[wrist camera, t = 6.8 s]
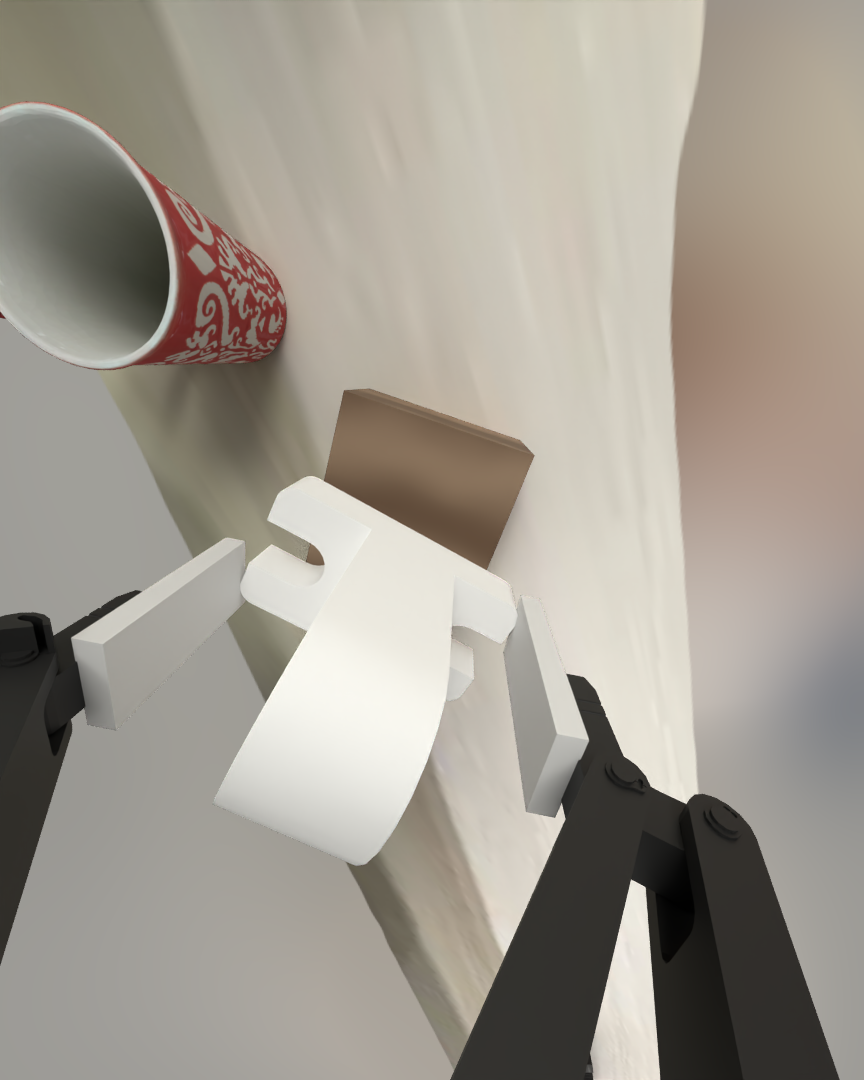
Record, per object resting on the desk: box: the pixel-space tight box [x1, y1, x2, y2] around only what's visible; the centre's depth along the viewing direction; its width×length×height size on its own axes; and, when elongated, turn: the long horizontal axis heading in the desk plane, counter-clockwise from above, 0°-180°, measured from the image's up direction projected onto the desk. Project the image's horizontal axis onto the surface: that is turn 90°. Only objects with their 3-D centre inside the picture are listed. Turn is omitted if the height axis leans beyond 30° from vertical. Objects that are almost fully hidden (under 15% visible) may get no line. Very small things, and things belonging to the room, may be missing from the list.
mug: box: [0, 101, 286, 370], centre depth 23 cm, size 13×9×14 cm
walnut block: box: [306, 389, 534, 570], centre depth 30 cm, size 12×12×7 cm
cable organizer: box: [213, 476, 518, 866], centre depth 13 cm, size 5×10×10 cm, turn 61°
